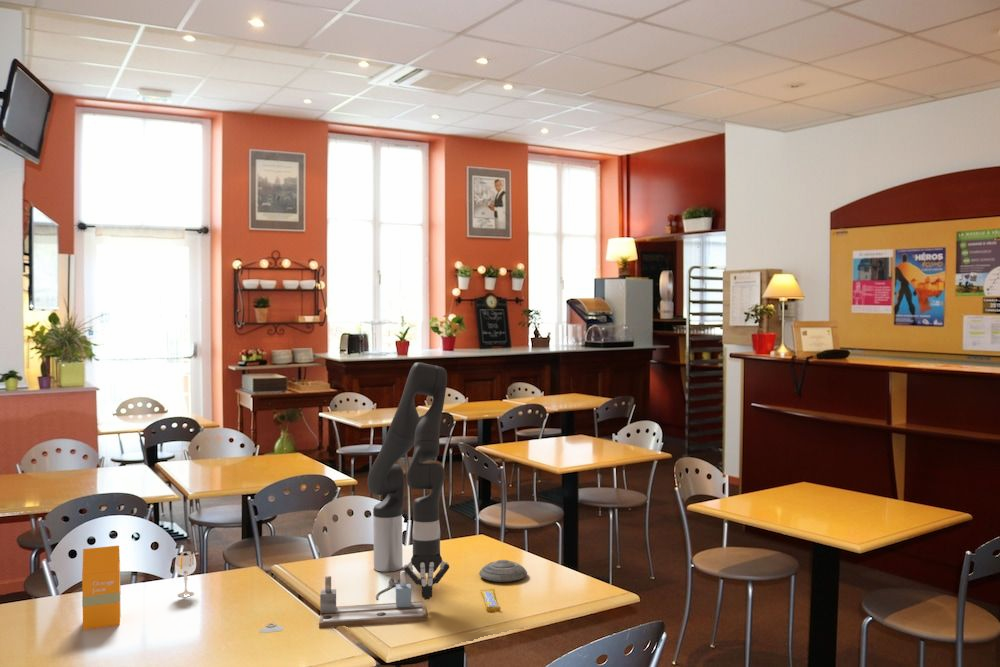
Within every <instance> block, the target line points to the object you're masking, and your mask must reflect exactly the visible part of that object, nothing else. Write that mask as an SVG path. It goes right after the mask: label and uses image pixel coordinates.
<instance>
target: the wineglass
mask: <svg viewBox="0 0 1000 667" xmlns="http://www.w3.org/2000/svg"><path fill="white" fill-rule="evenodd" d="M174 562H175V563H174V569H175V573H177V574H178V575H180V576H181V577H183V582H184V591H183V592H180V593H178V594H177V597H178V598H186V597H187V598H188V597H191V596H194V594H195V593H194V592H193V591H188V588H187V587H188V584H187V583H188V576H189V575H191V574H193V573H194V572H195V571H196V568H197V559H196V556H195V552H194V551H190V550H189V551H181V552H178V553H177V554H176V558H175V561H174Z"/></svg>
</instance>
